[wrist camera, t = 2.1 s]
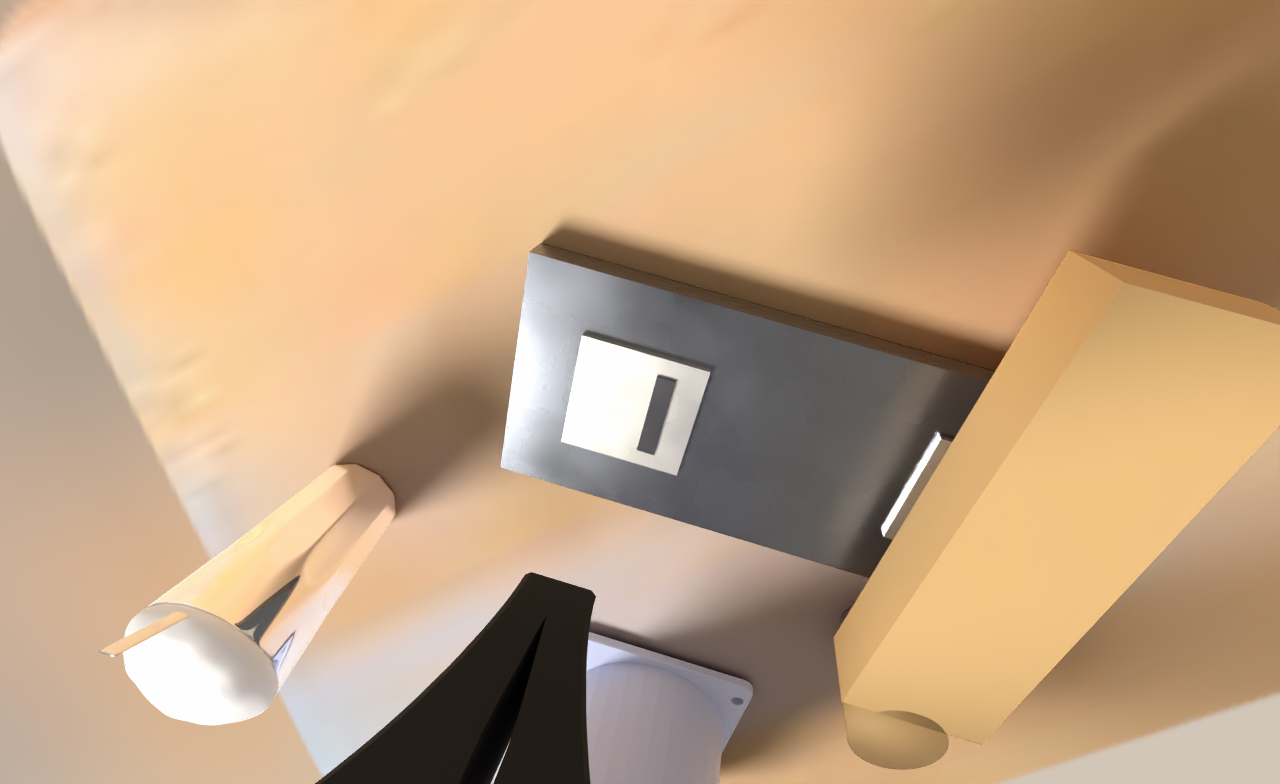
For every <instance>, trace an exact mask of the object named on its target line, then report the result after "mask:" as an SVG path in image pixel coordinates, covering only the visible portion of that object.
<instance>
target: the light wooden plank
mask: <svg viewBox="0 0 1280 784" xmlns="http://www.w3.org/2000/svg"><path fill="white" fill-rule="evenodd" d="M1279 426H1280V310H1278V309H1276V308H1274V307H1272V306H1269V305H1267V304H1265V303H1263V302H1259V301H1256V300H1252V299H1248V298H1245V297H1241V296H1237V295H1234V294H1230V293H1226V292H1223V291H1219V290H1215V289H1212V288H1208V287H1204V286H1201V285H1197V284H1193V283H1189V282H1186V281H1182V280H1178V279H1175V278H1171V277H1167V276H1164V275H1160V274H1156V273H1153V272H1149V271H1145V270H1142V269H1138V268H1134V267H1131V266H1127V265H1123V264H1120V263H1116V262H1112V261H1109V260H1105V259H1101V258H1097V257H1094V256H1090V255H1086V254H1083V253H1079V252H1075V251H1072V250H1069V251H1068V252H1067V254H1066V256H1065V257H1064V259H1063V261H1062V262H1061V264H1060V266H1059V267H1058V269H1057V270H1056V272H1055V274H1054V275H1053V277H1052V279H1051V280H1050V282H1049V284H1048V285H1047V287H1046V289H1045V290H1044V292H1043V294H1042V295H1041V297H1040V298H1039V300H1038V302H1037V303H1036V305H1035V307H1034V308H1033V310H1032V312H1031V313H1030V315H1029V317H1028V318H1027V320H1026V322H1025V323H1024V325H1023V326H1022V328H1021V330H1020V331H1019V333H1018V335H1017V336H1016V338H1015V340H1014V341H1013V343H1012V345H1011V346H1010V348H1009V350H1008V351H1007V353H1006V355H1005V356H1004V358H1003V359H1002V361H1001V363H1000V364H999V366H998V368H997V369H996V371H995V373H994V374H993V376H992V378H991V379H990V381H989V383H988V384H987V386H986V387H985V389H984V391H983V392H982V394H981V396H980V397H979V399H978V401H977V402H976V404H975V406H974V407H973V409H972V411H971V412H970V414H969V415H968V417H967V419H966V420H965V422H964V424H963V425H962V427H961V429H960V430H959V432H958V434H957V435H956V437H955V439H954V440H953V442H952V443H951V445H950V447H949V448H948V450H947V452H946V453H945V455H944V457H943V458H942V460H941V462H940V463H939V465H938V467H937V468H936V470H935V471H934V473H933V475H932V476H931V478H930V480H929V481H928V483H927V485H926V486H925V488H924V490H923V491H922V493H921V495H920V496H919V498H918V500H917V501H916V503H915V504H914V506H913V508H912V509H911V511H910V513H909V514H908V516H907V518H906V519H905V521H904V523H903V524H902V526H901V528H900V529H899V531H898V532H897V534H896V536H895V537H894V539H893V541H892V542H891V544H890V546H889V547H888V549H887V551H886V552H885V554H884V556H883V557H882V559H881V560H880V562H879V564H878V565H877V567H876V569H875V570H874V572H873V574H872V575H871V577H870V579H869V580H868V582H867V584H866V585H865V587H864V588H863V590H862V592H861V593H860V595H859V597H858V598H857V600H856V602H855V603H854V605H853V607H852V608H851V610H850V612H849V613H848V615H847V617H846V618H845V620H844V621H843V623H842V625H841V626H840V628H839V630H838V631H837V633H836V635H835V636H834V646H835V653H836V661H837V669H838V677H839V685H840V693H841V701H842V702H843V709H844V717H845V725H846V732H847V740H848V744H849V746H850V748H851V749H852V751H853V752H854V753H855V754H856V755H857V756H859V757H860V758H861V759H863V760H865V761H867V762H869V763H871V764H874V765H876V766H880V767H884V768H889V769H901V770H903V769H915V768H920V767H924V766H927V765H930V764H932V763H934V762H936V761H937V760H939V759H940V758H941V757H942V756H943V755H944V754H945V752H946V751H947V749H948V736H947V735H951V736H954V737H957V738H960V739H964V740H967V741H970V742H973V743H977V744H980V745H982V744H983V742H984V741H985V740H986V739H987V738H988V737H989V736H990V735H991V734H992V733H993V732H994V731H995V730H996V729H997V727H998V726H999V725H1000V724H1001V723H1002V722H1003V721H1004V720H1005V719H1006V718H1007V717H1008V716H1009V715H1010V714H1011V712H1012V711H1013V710H1014V709H1015V708H1016V707H1017V706H1018V705H1019V704H1020V703H1021V702H1022V701H1023V700H1024V699H1025V698H1026V696H1027V695H1028V694H1029V693H1030V692H1031V691H1032V690H1033V689H1034V688H1035V687H1036V686H1037V685H1038V684H1039V683H1040V681H1041V680H1042V679H1043V678H1044V677H1045V676H1046V675H1047V674H1048V673H1049V672H1050V671H1051V670H1052V669H1053V668H1054V667H1055V665H1056V664H1057V663H1058V662H1059V661H1060V660H1061V659H1062V658H1063V657H1064V656H1065V655H1066V654H1067V653H1068V652H1069V650H1070V649H1071V648H1072V647H1073V646H1074V645H1075V644H1076V643H1077V642H1078V641H1079V640H1080V639H1081V638H1082V637H1083V635H1084V634H1085V633H1086V632H1087V631H1088V630H1089V629H1090V628H1091V627H1092V626H1093V625H1094V624H1095V623H1096V622H1097V621H1098V619H1099V618H1100V617H1101V616H1102V615H1103V614H1104V613H1105V612H1106V611H1107V610H1108V609H1109V608H1110V607H1111V606H1112V604H1113V603H1114V602H1115V601H1116V600H1117V599H1118V598H1119V597H1120V596H1121V595H1122V594H1123V593H1124V592H1125V591H1126V590H1127V588H1128V587H1129V586H1130V585H1131V584H1132V583H1133V582H1134V581H1135V580H1136V579H1137V578H1138V577H1139V576H1140V575H1141V573H1142V572H1143V571H1144V570H1145V569H1146V568H1147V567H1148V566H1149V565H1150V564H1151V563H1152V562H1153V561H1154V560H1155V558H1156V557H1157V556H1158V555H1159V554H1160V553H1161V552H1162V551H1163V550H1164V549H1165V548H1166V547H1167V546H1168V545H1169V544H1170V542H1171V541H1172V540H1173V539H1174V538H1175V537H1176V536H1177V535H1178V534H1179V533H1180V532H1181V531H1182V530H1183V529H1184V527H1185V526H1186V525H1187V524H1188V523H1189V522H1190V521H1191V520H1192V519H1193V518H1194V517H1195V516H1196V515H1197V514H1198V512H1199V511H1200V510H1201V509H1202V508H1203V507H1204V506H1205V505H1206V504H1207V503H1208V502H1209V501H1210V500H1211V499H1212V498H1213V496H1214V495H1215V494H1216V493H1217V492H1218V491H1219V490H1220V489H1221V488H1222V487H1223V486H1224V485H1225V484H1226V483H1227V481H1228V480H1229V479H1230V478H1231V477H1232V476H1233V475H1234V474H1235V473H1236V472H1237V471H1238V470H1239V469H1240V468H1241V467H1242V465H1243V464H1244V463H1245V462H1246V461H1247V460H1248V459H1249V458H1250V457H1251V456H1252V455H1253V454H1254V453H1255V452H1256V450H1257V449H1258V448H1259V447H1260V446H1261V445H1262V444H1263V443H1264V442H1265V441H1266V440H1267V439H1268V438H1269V437H1270V435H1271V434H1272V433H1273V432H1274V431H1275V430H1276V429H1277V428H1278V427H1279Z"/></svg>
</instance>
